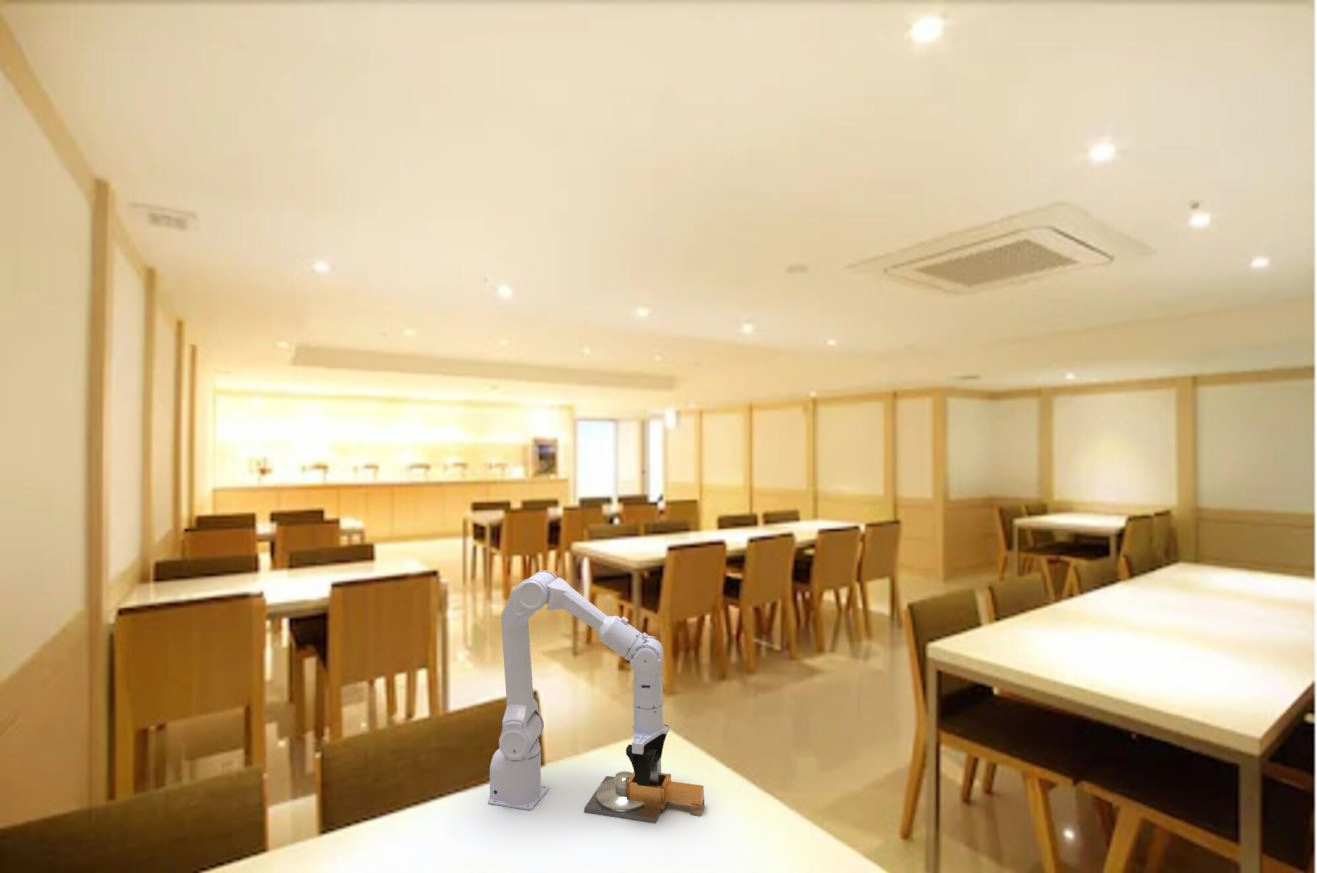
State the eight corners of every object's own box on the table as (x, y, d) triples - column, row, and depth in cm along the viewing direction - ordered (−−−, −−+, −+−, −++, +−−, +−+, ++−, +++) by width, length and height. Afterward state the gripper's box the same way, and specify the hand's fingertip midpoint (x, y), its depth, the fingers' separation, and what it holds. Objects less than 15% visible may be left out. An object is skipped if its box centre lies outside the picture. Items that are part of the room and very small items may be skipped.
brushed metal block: (638, 796, 118) (637, 759, 118) (641, 789, 120) (641, 753, 121) (658, 799, 117) (657, 762, 117) (661, 792, 119) (660, 756, 120)
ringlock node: (584, 812, 116) (584, 787, 116) (606, 779, 127) (606, 757, 128) (695, 829, 110) (695, 803, 110) (708, 793, 122) (708, 770, 122)
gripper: (657, 721, 111) (658, 797, 111) (676, 691, 125) (677, 759, 125) (620, 717, 113) (621, 792, 113) (643, 688, 127) (644, 754, 127)
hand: (648, 774), depth 119 cm, fingers open, 7 cm apart
